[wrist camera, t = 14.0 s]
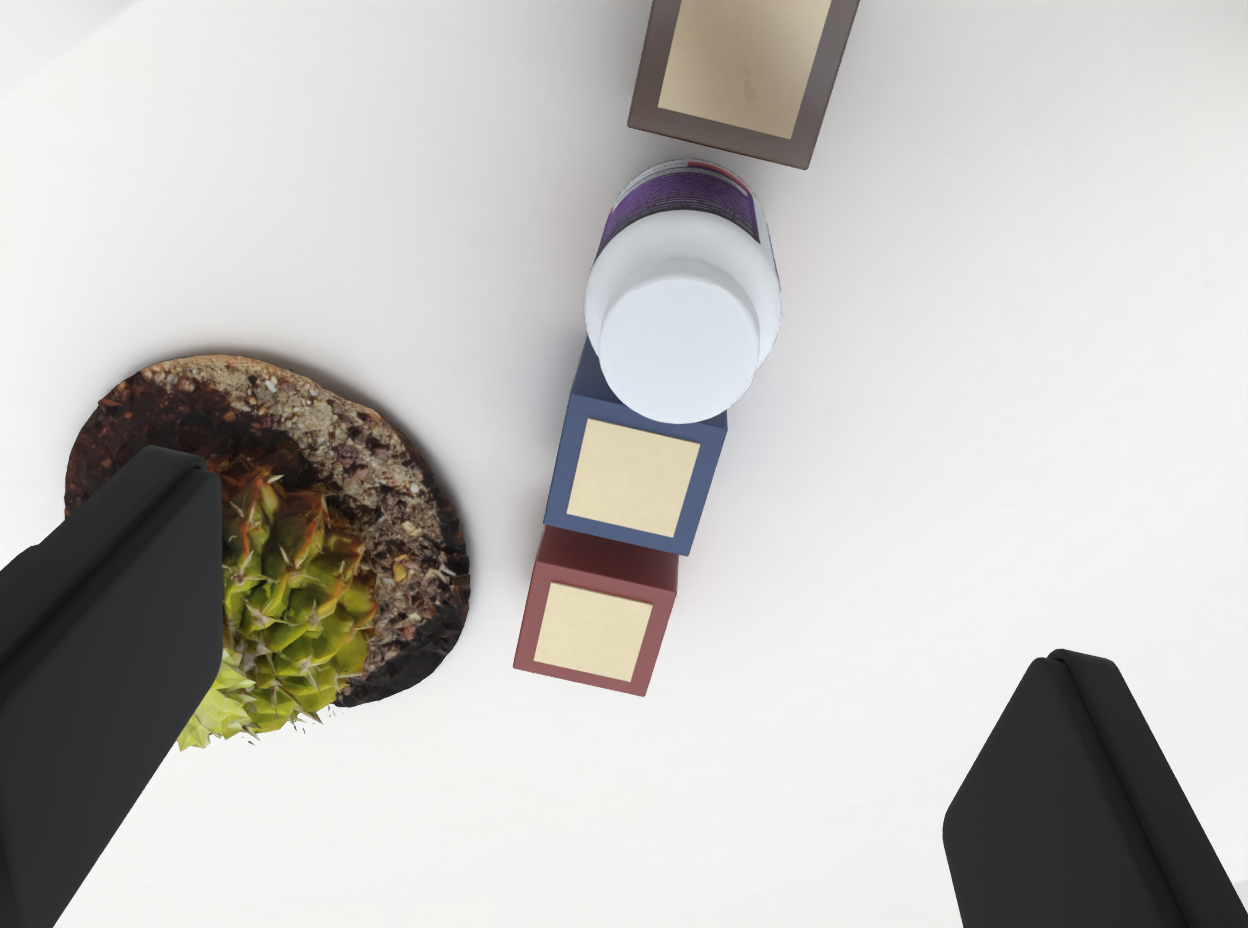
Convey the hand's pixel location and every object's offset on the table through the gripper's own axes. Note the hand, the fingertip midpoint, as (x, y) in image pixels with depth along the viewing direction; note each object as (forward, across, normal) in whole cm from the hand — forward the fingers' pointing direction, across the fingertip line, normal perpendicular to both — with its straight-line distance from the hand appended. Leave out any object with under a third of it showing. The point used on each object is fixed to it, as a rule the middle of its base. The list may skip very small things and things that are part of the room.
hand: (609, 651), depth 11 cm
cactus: (+23, +12, +18) cm, 32 cm away
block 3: (+23, -1, -4) cm, 24 cm away
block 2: (+23, 0, +15) cm, 27 cm away
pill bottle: (+23, -1, +2) cm, 23 cm away
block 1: (+23, -1, +8) cm, 24 cm away
